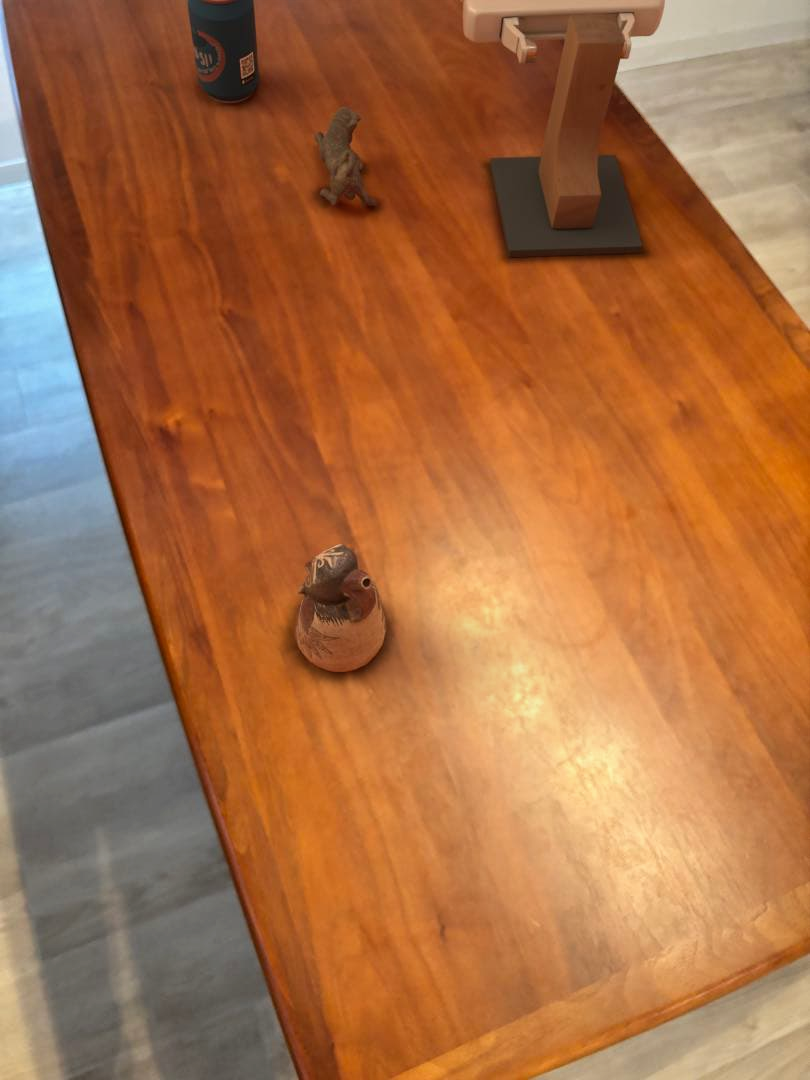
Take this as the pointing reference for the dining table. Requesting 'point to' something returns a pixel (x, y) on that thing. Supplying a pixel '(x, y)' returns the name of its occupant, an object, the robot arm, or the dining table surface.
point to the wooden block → (579, 119)
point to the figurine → (339, 612)
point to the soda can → (225, 48)
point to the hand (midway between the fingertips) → (575, 55)
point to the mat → (531, 221)
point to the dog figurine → (342, 159)
